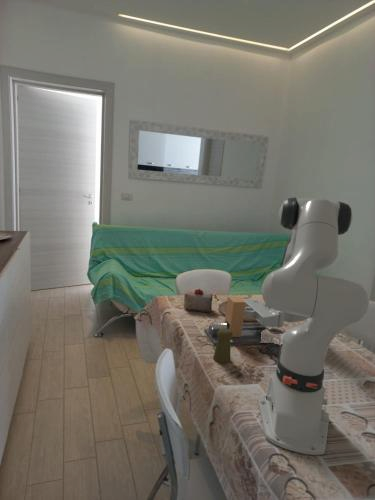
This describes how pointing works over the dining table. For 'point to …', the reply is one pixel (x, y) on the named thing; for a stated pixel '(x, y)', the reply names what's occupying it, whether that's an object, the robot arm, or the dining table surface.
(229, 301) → the orange brown tall block
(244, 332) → the base board
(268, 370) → the dining table surface
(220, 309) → the trivet
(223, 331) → the cork
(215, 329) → the grey banded bar
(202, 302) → the food item
